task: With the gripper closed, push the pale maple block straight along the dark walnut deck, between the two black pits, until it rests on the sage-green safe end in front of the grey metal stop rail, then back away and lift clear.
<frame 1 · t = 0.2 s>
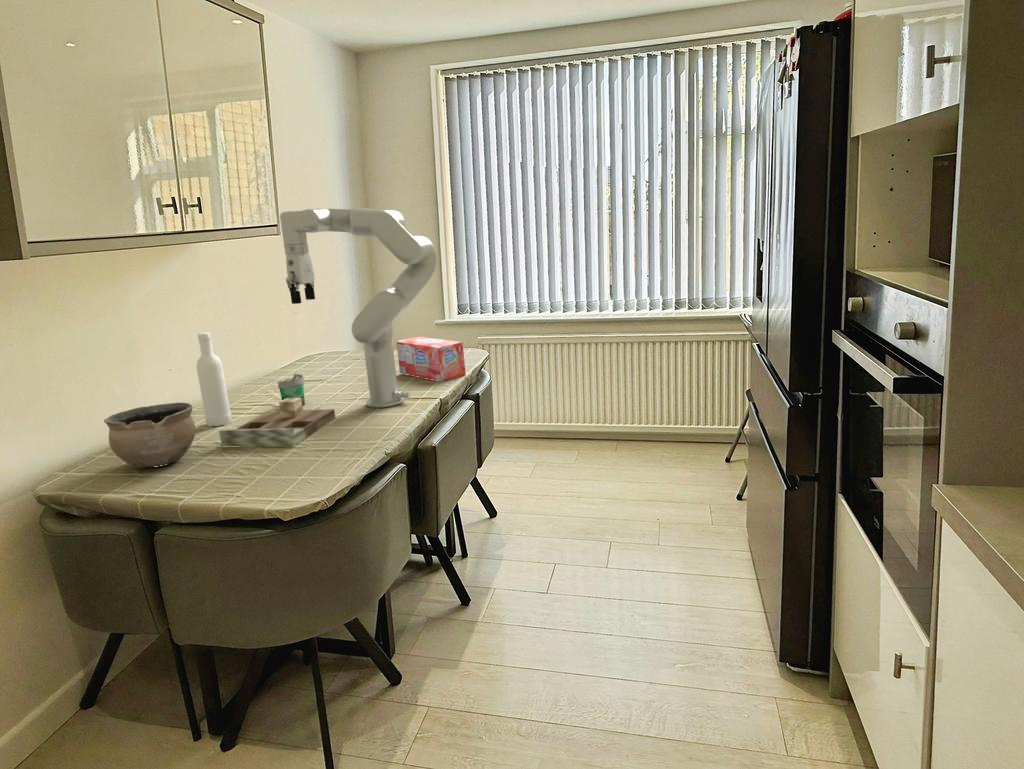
hand: (303, 301, 251), 36 cm above the table, tool pointing down, fingers open, 9 cm apart
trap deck: (281, 432, 230), on the table
box: (432, 375, 294), on the table
food container: (298, 406, 262), on the table
maple block: (292, 415, 237), point 3 cm above the table, touching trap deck
bottle: (219, 424, 247), on the table
ceramic bowl: (158, 463, 210), on the table
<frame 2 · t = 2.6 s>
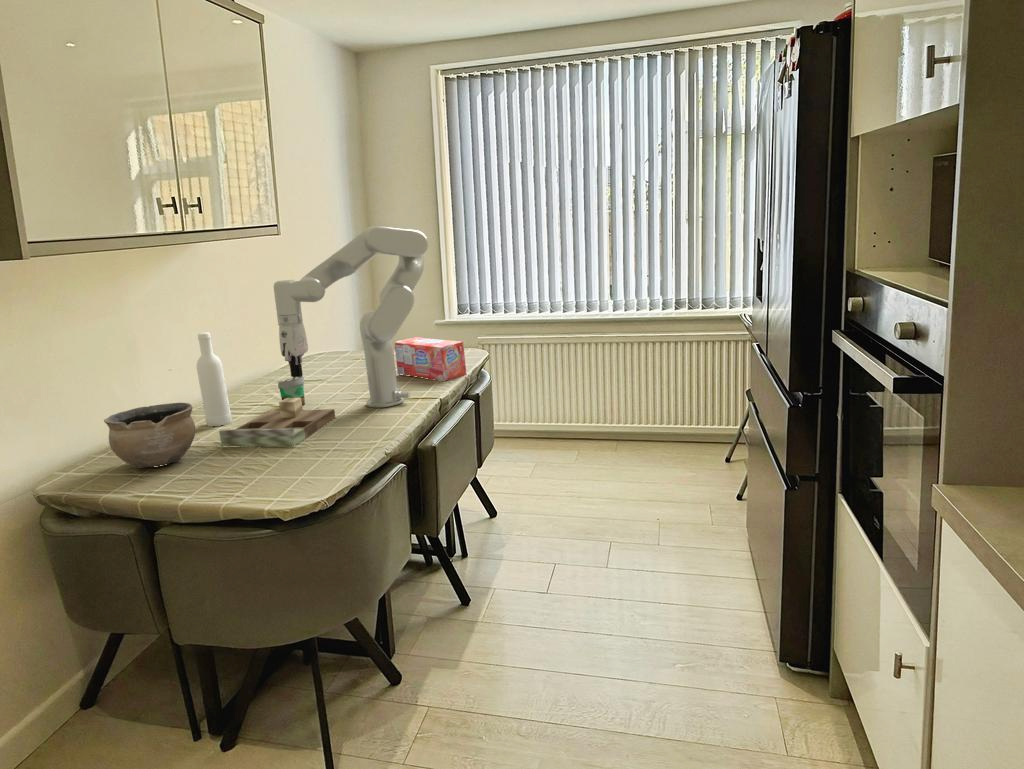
hand: (296, 376, 242), 14 cm above the table, tool pointing down, fingers closed
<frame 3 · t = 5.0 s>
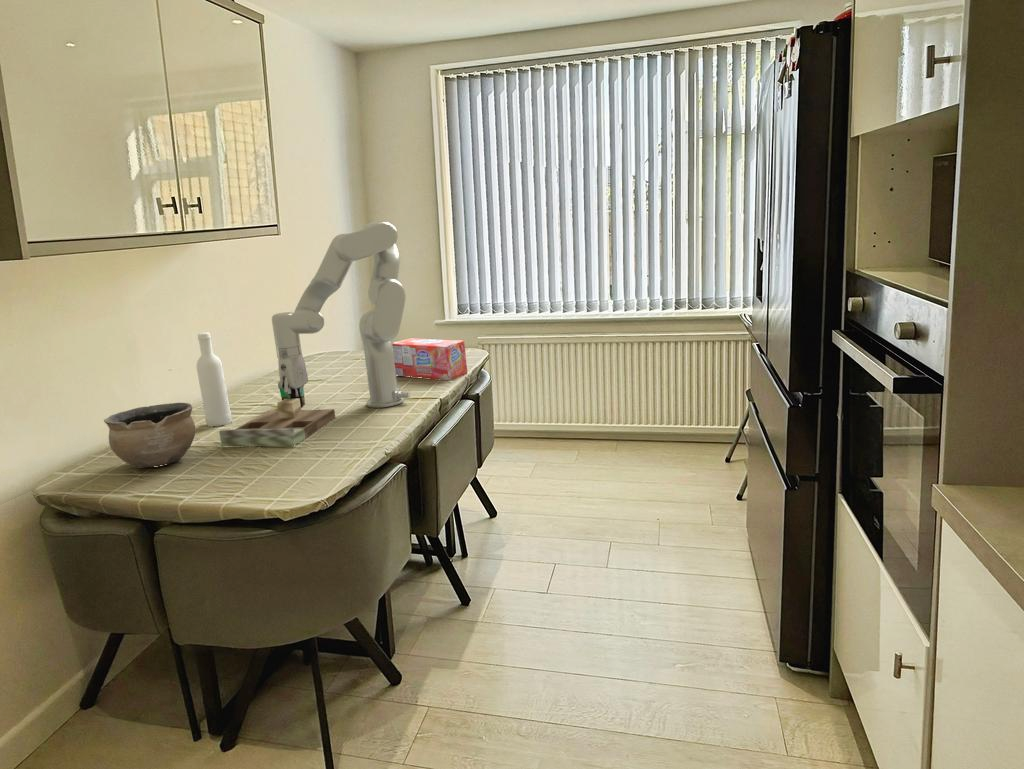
hand: (297, 408, 241), 4 cm above the table, tool pointing down, fingers closed
maple block: (290, 416, 237), point 3 cm above the table, touching gripper
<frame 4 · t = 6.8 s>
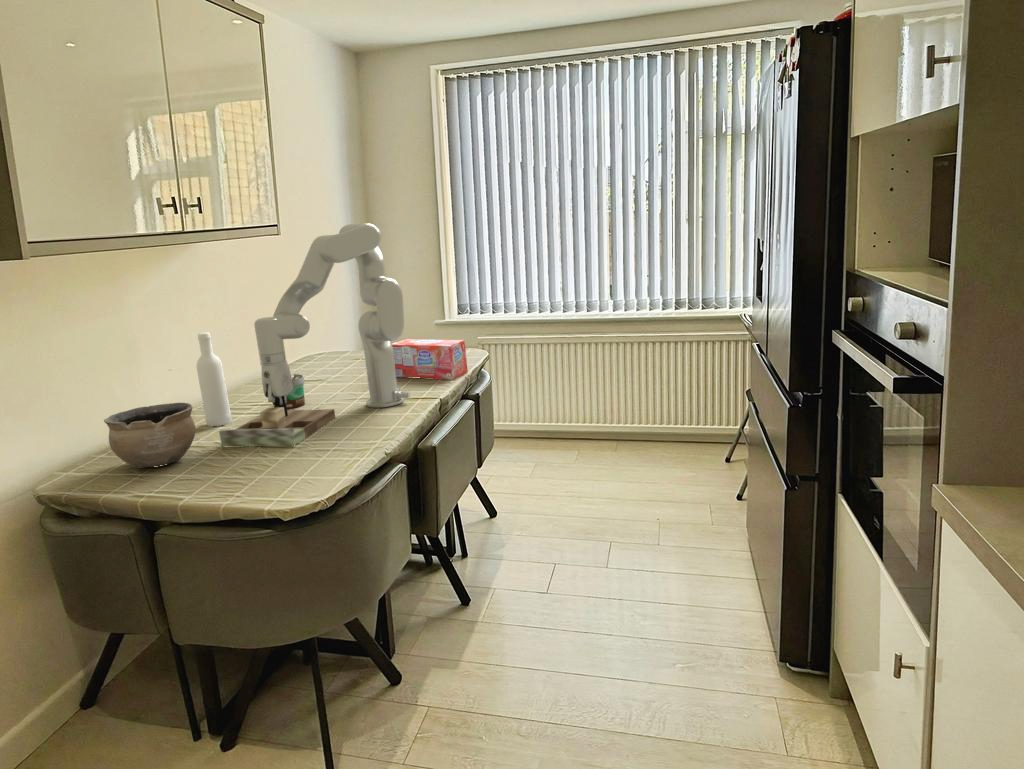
hand: (282, 416, 231), 4 cm above the table, tool pointing down, fingers closed
maple block: (274, 425, 227), point 3 cm above the table, touching gripper, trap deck
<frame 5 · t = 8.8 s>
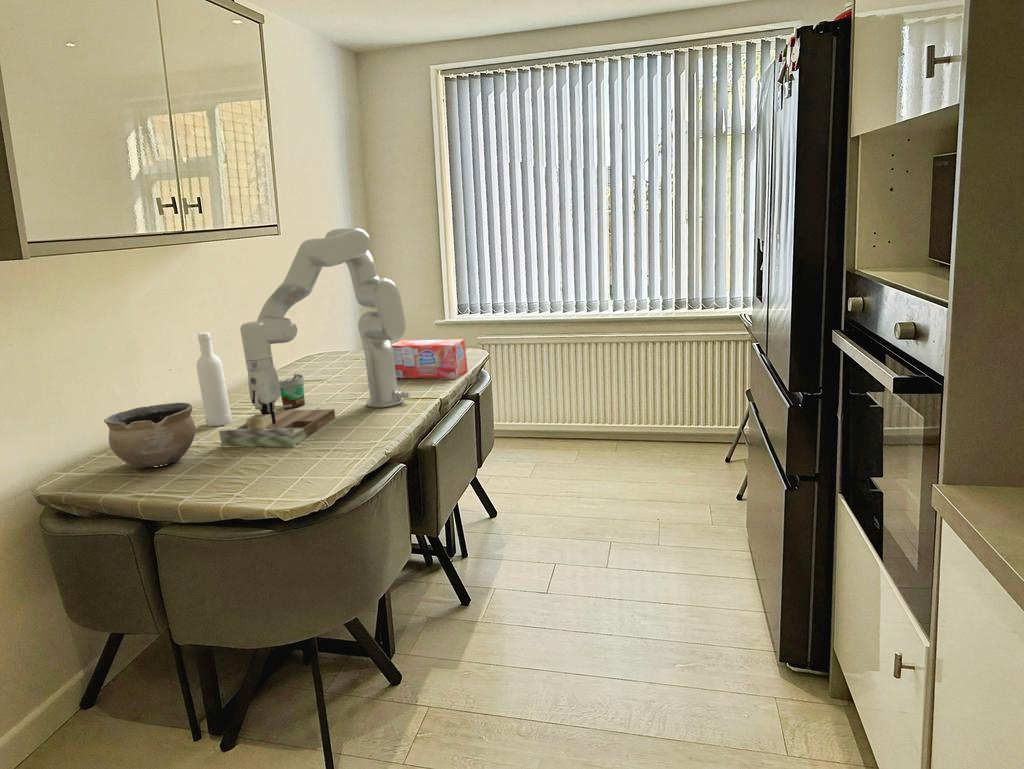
hand: (269, 424, 224), 4 cm above the table, tool pointing down, fingers closed
maple block: (261, 433, 220), point 3 cm above the table, touching gripper, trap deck
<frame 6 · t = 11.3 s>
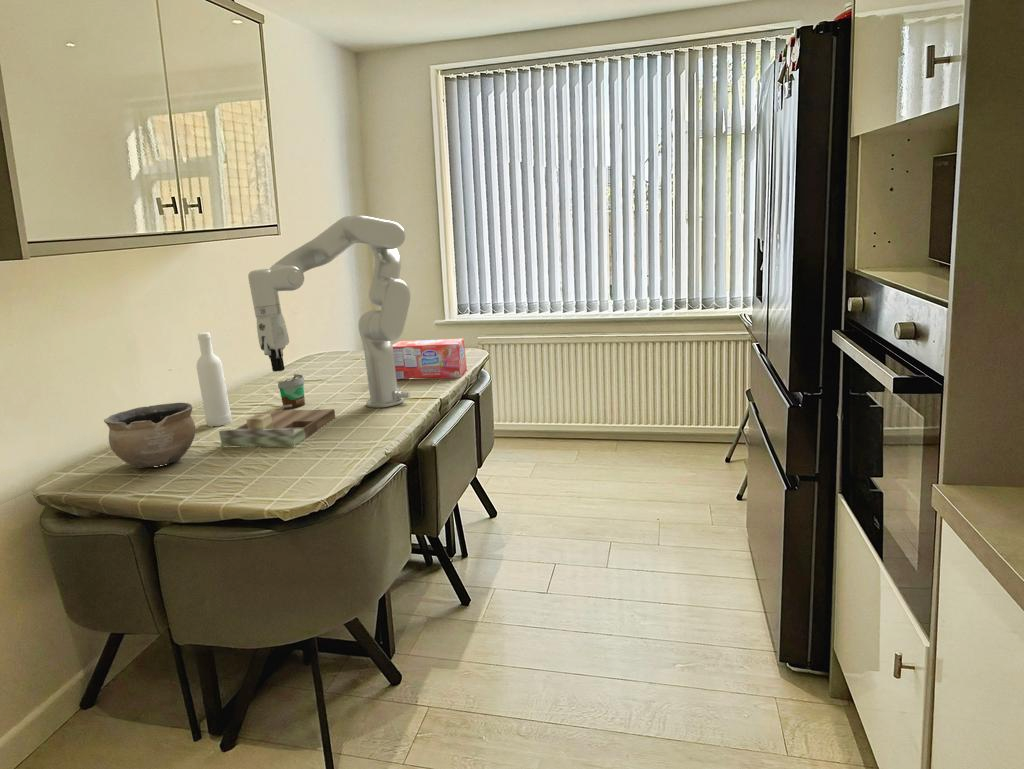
hand: (278, 370, 229), 19 cm above the table, tool pointing down, fingers closed
maple block: (261, 433, 220), point 3 cm above the table, touching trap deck
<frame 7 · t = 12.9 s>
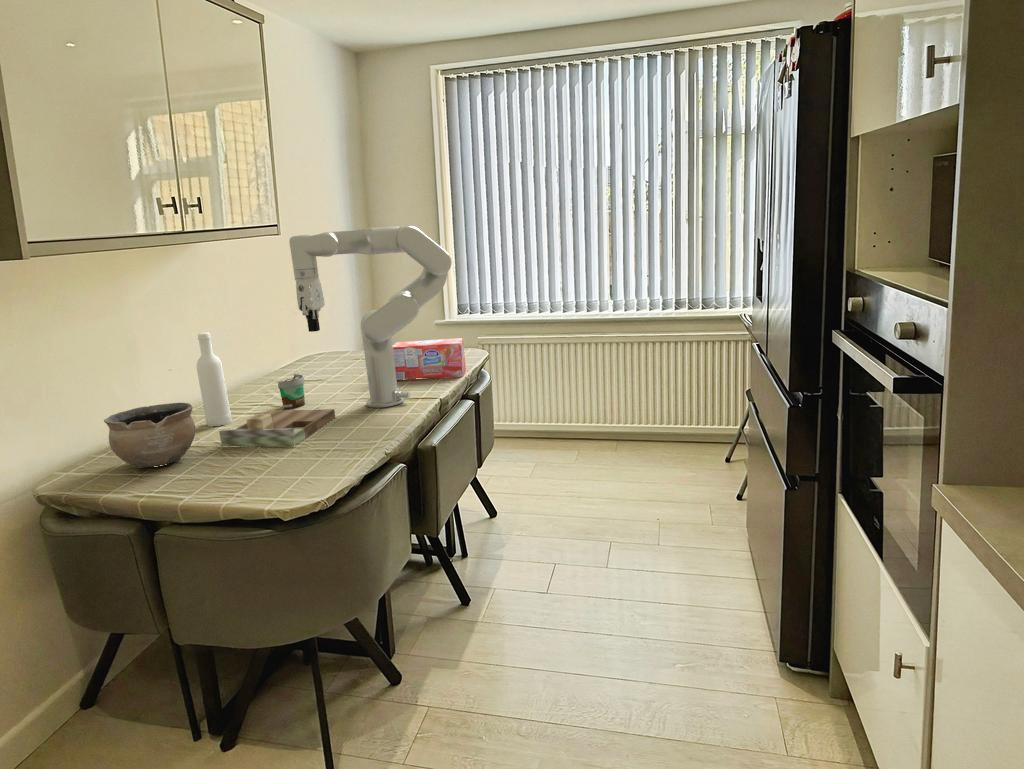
hand: (314, 330, 245), 27 cm above the table, tool pointing down, fingers closed
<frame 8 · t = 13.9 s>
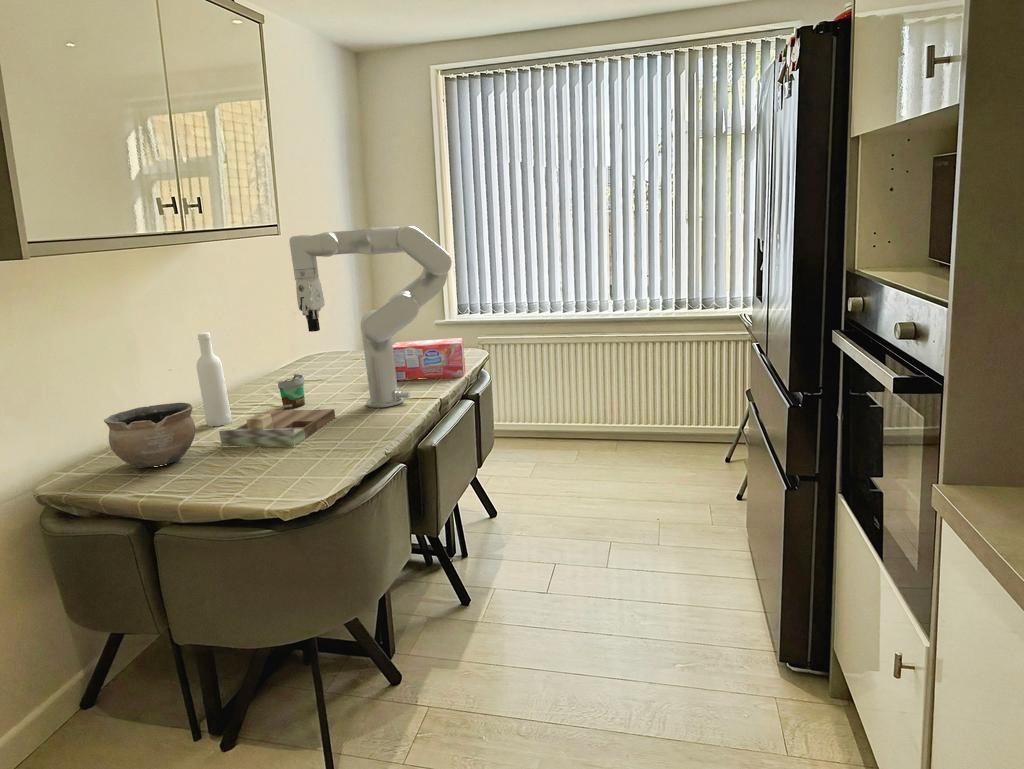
hand: (314, 330, 245), 27 cm above the table, tool pointing down, fingers closed
at the end: maple block inside the target area on the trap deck (0.7 cm from its centre), point 3.0 cm above the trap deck's base; maple block point 3.0 cm above the table; maple block tilted 0° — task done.
